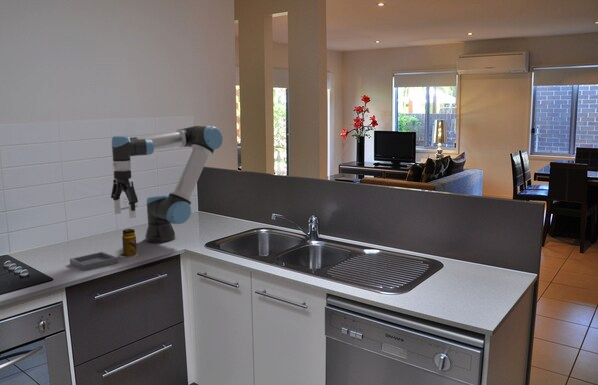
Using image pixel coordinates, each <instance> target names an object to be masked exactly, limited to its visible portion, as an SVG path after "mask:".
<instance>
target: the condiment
mask: <svg viewBox="0 0 598 385" xmlns="http://www.w3.org/2000/svg"><path fill="white" fill-rule="evenodd" d="M121 240H122V252H119V253H117V255H118V257H119V259H120V258H130V257H138V256H139V253H138V249H137V236H136V232H135V229H133V228H125V229H123V230H122V239H121Z"/></svg>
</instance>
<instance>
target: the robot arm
mask: <svg viewBox="0 0 598 385" xmlns="http://www.w3.org/2000/svg"><path fill="white" fill-rule="evenodd" d="M223 140H224V138H223V134H222V132H221V130H220V129H219V128H218V127H216V126H212V125H207V126H206V125H194V126H190V127H184V128H180V129H179V128H178V129H177V130H175V131H171V132H164V133H163V132H162V133H157V134H149V135H148V134H147V135H142V136H136V137H135V136H133V137H130V136H128V135H115V136H112V138H111V152H112V166H113V170H114V171H113V182H112V184H113V185H112V190H111V193H110V194H111V195H110V197H111V199H112V200H113V208H114V215H119V214H122V210H121V195H122V193H123V192H124V194H125V196H126V198H127V201H128V215H129V219H133V218H136V217H137V216H136V215H137V214H136V213H137V212H136V211H137V210H136V203H138V202H139V200H138V197H137V194H136V190H135V187H134V186H135V185H134V181H130V179H131V178H132V171H131V169H132V163H131V162H132V161H131V157H137V156H151V155H152V154H153V153H154V152H155V151H156V150H160V149H166V148H167V149H169V148H173V147H179V148H192V151H191V153H190V155H189V157H188V160H187V161H186V164H185V167H184V168H183V169H182V170H183V171H182V173H181V175H180V178H179V179H178V182H177V184H176V186H175V189H174V190H173V191H171V192H170V193H169V194H160V195H152V196H149V197H147V198H146V213H147V228H146V232H145V235H144V237H145V241H146V242H149V243H166V242H171V241H174V240H175V239H176V232H175V230H174V228H173V224H174V225H182V224H184V223H186V222H187V221H188V220H189V219H190V218H191V215H192V207H191V204H192V200H191V197H192V195H193V192H194V190H195V188H196V185H197V183H198V181H199V179H200V176H201V173H202V171H203V170H204V168H205V165H206V163H207V161H208V158H209V157H211V156H213V154H214V152H215V150H218V149H219V148H221V146H222V144H223Z"/></svg>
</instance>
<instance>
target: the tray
mask: <svg viewBox="0 0 598 385" xmlns="http://www.w3.org/2000/svg"><path fill="white" fill-rule="evenodd" d="M114 264H118V256H115V255H112V254H109V253H107V252H104V251H99V252H94V253H91V254H90V253H89V254H85V255H82V256H76V257H72V258H71V257H70V258H69V265H71V266H73V267H75V268H77V269H79V270H82V271H83V272H84V271H85V272H86V271H89V270H93V269H98V268H102V267H105V266H110V265H114Z"/></svg>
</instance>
